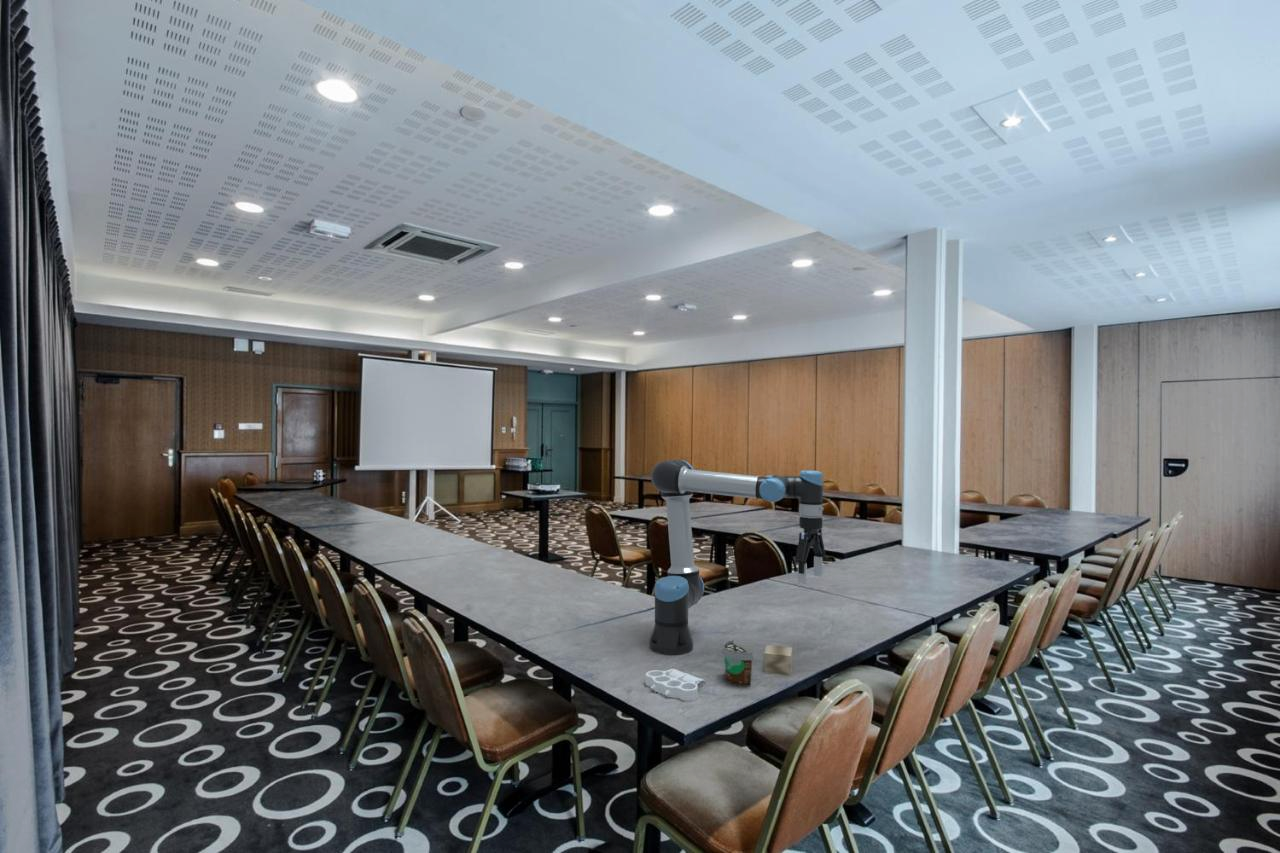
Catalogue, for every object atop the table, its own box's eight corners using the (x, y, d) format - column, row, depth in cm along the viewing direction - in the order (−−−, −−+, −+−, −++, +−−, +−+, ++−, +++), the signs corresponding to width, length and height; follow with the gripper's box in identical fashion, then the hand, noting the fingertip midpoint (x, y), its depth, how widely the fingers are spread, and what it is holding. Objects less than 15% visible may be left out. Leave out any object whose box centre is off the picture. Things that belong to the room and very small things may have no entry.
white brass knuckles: (714, 691, 175) (681, 707, 165) (668, 674, 188) (634, 688, 178) (714, 680, 175) (681, 695, 165) (668, 663, 188) (635, 676, 178)
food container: (714, 674, 187) (714, 641, 187) (732, 671, 189) (732, 639, 190) (734, 690, 176) (734, 655, 176) (753, 687, 178) (753, 652, 178)
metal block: (764, 672, 189) (764, 653, 190) (767, 663, 197) (767, 644, 197) (790, 675, 187) (790, 656, 187) (792, 666, 195) (792, 647, 195)
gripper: (807, 521, 194) (806, 588, 193) (835, 513, 213) (834, 574, 213) (784, 519, 198) (784, 584, 198) (814, 512, 218) (813, 571, 218)
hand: (810, 579), depth 206 cm, fingers open, 13 cm apart
